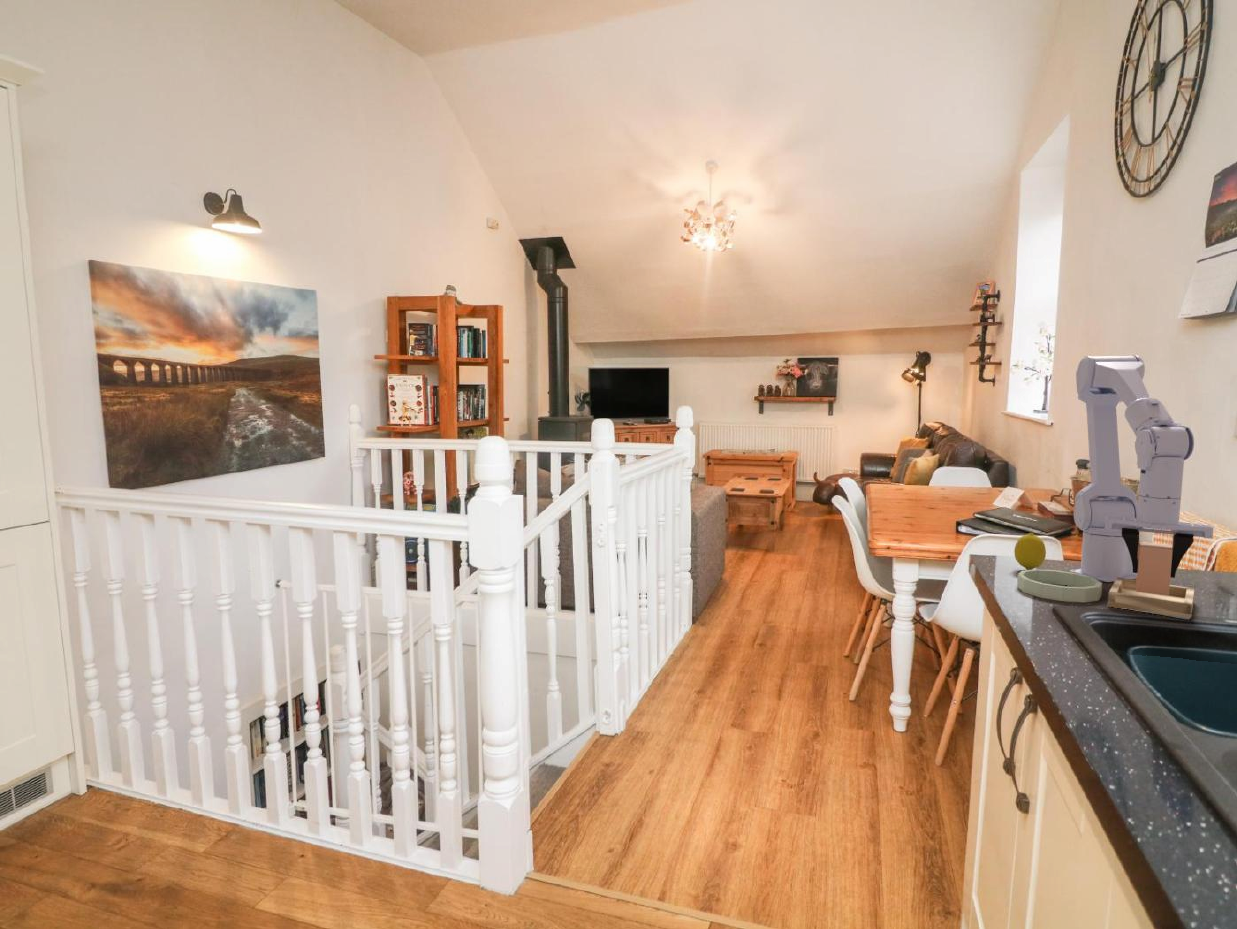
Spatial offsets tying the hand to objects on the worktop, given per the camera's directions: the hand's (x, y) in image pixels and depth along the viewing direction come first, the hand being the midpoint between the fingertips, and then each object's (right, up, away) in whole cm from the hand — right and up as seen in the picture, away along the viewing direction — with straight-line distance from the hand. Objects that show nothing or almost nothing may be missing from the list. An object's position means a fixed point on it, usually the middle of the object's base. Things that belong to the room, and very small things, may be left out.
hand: (1153, 574), depth 118 cm
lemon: (-8, -3, +23) cm, 25 cm away
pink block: (0, -3, 0) cm, 3 cm away
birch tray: (0, -5, +1) cm, 5 cm away
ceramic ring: (-11, -5, +8) cm, 15 cm away
